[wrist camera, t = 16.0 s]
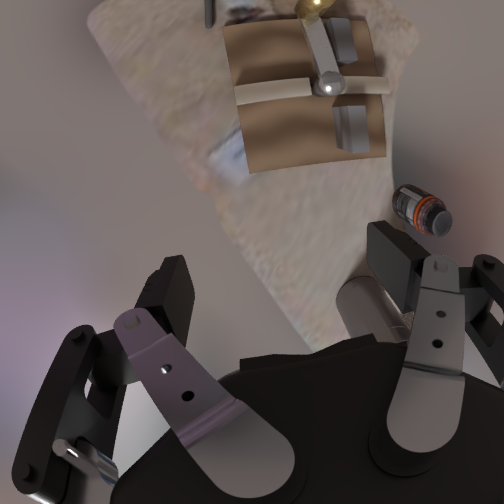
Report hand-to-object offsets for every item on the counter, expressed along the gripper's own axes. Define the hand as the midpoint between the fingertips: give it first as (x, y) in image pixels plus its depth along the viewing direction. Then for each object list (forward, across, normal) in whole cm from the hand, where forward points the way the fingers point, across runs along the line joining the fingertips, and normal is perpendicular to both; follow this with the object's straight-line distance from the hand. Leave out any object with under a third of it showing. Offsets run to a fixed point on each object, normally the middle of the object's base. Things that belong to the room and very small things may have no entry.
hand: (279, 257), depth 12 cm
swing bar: (+24, -10, -14) cm, 29 cm away
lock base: (+30, -10, -9) cm, 33 cm away
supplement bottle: (+30, -25, +10) cm, 41 cm away
